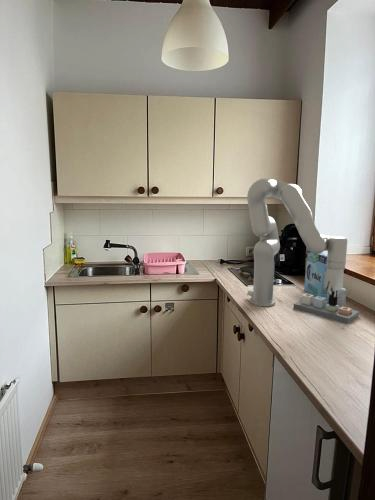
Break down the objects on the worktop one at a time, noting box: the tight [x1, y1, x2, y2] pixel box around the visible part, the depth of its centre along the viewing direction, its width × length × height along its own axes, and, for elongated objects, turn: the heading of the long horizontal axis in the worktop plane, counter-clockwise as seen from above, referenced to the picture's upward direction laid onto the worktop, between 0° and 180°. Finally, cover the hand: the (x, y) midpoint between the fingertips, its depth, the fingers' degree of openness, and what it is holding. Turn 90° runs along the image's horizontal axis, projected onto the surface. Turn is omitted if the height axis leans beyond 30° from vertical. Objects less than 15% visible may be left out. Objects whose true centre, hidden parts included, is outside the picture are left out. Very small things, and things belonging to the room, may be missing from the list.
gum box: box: [303, 249, 328, 302], centre depth 179 cm, size 20×5×23 cm, turn 6°
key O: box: [301, 292, 315, 305], centre depth 161 cm, size 4×4×4 cm
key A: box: [326, 304, 339, 312], centre depth 154 cm, size 4×4×4 cm
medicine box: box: [326, 287, 347, 307], centre depth 165 cm, size 8×4×9 cm, turn 74°
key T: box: [313, 296, 327, 308], centre depth 157 cm, size 4×4×4 cm
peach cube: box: [339, 306, 353, 315], centre depth 150 cm, size 4×4×4 cm
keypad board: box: [292, 299, 360, 325], centre depth 156 cm, size 25×12×2 cm, turn 44°
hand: (332, 304), depth 153 cm, fingers closed
